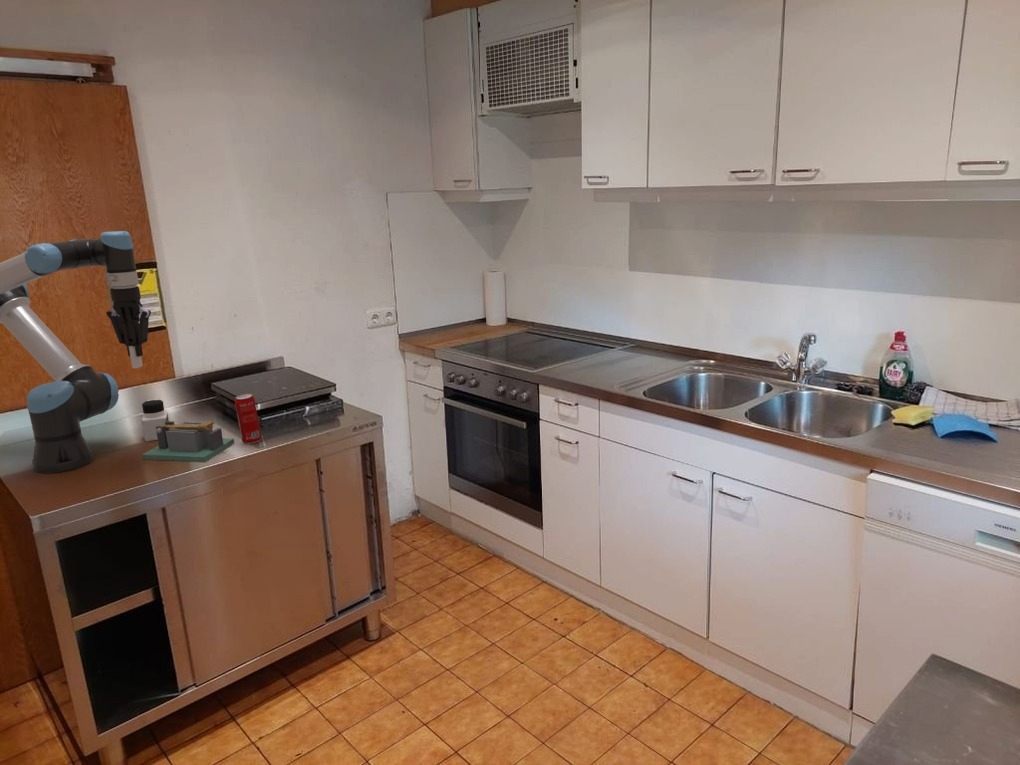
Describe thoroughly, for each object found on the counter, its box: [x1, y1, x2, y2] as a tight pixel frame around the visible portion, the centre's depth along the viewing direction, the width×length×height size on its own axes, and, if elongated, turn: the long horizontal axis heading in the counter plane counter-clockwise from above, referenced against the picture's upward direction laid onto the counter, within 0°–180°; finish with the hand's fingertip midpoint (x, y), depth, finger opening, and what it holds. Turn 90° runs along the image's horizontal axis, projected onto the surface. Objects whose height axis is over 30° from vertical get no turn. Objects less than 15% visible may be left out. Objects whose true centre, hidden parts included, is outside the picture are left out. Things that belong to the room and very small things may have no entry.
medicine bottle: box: [141, 398, 170, 442], centre depth 237 cm, size 7×7×12 cm
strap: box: [164, 421, 215, 430], centre depth 222 cm, size 16×4×2 cm, turn 79°
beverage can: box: [234, 393, 262, 445], centre depth 229 cm, size 6×6×15 cm
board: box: [142, 420, 235, 463], centre depth 223 cm, size 20×16×8 cm
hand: (137, 367), depth 218 cm, fingers closed
